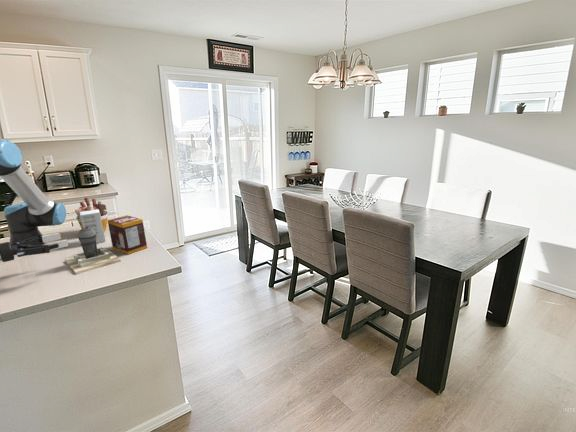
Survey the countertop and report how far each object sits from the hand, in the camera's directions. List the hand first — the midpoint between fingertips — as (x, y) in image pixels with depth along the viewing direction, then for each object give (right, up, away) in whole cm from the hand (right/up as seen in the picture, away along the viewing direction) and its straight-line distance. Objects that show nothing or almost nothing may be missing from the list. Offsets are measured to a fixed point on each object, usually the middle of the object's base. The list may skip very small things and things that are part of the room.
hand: (63, 239), depth 136 cm
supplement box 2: (+16, -7, +25) cm, 30 cm away
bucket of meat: (-19, +1, +53) cm, 57 cm away
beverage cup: (+7, -10, +10) cm, 15 cm away
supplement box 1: (-8, -4, +36) cm, 37 cm away
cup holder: (+7, -11, +10) cm, 16 cm away
